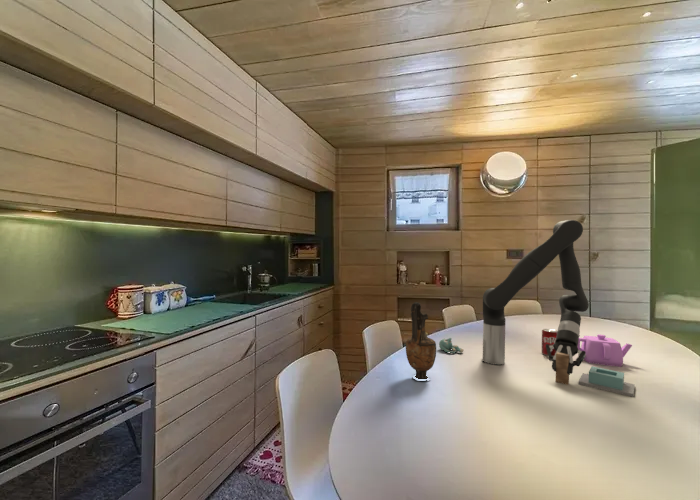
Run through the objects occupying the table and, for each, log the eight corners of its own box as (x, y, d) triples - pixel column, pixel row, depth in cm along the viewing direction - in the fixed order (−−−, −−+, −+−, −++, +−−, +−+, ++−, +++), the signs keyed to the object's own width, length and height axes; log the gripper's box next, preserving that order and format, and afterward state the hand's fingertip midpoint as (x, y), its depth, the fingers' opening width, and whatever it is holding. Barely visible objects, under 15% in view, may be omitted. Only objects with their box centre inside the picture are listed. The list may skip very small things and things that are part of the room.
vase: (441, 378, 129) (442, 301, 129) (424, 387, 120) (426, 304, 120) (415, 370, 137) (416, 298, 137) (397, 378, 128) (399, 301, 128)
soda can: (561, 357, 159) (561, 332, 159) (544, 356, 160) (545, 331, 160) (555, 353, 166) (555, 329, 166) (539, 352, 167) (539, 328, 167)
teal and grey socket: (578, 383, 127) (578, 370, 127) (582, 375, 136) (583, 363, 136) (633, 396, 116) (633, 382, 116) (634, 386, 125) (634, 373, 125)
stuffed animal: (461, 345, 157) (437, 336, 164) (458, 359, 158) (434, 350, 164) (467, 340, 166) (444, 332, 173) (464, 354, 167) (441, 345, 173)
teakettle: (570, 357, 159) (571, 332, 159) (592, 354, 166) (593, 329, 166) (610, 369, 144) (611, 341, 144) (633, 365, 151) (633, 337, 151)
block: (555, 382, 128) (556, 353, 128) (556, 380, 130) (557, 352, 130) (567, 385, 125) (568, 355, 126) (569, 383, 127) (569, 354, 127)
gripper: (546, 326, 138) (538, 362, 129) (588, 332, 129) (583, 371, 120) (549, 336, 142) (541, 372, 133) (590, 343, 132) (585, 382, 123)
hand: (561, 371), depth 126 cm, fingers closed on block, 4 cm apart
